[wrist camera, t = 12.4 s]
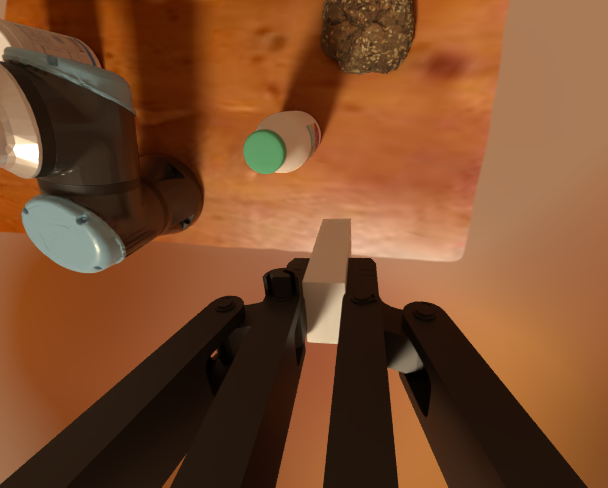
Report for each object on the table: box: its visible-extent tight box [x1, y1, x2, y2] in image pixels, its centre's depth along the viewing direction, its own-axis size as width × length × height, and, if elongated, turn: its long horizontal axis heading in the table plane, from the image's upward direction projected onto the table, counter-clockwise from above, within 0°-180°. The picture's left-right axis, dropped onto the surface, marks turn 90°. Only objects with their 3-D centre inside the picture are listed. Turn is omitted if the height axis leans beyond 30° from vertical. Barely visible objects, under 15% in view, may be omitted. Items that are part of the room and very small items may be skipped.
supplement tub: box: [0, 19, 101, 68], centre depth 45 cm, size 10×10×15 cm
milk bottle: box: [243, 111, 321, 174], centre depth 41 cm, size 8×8×20 cm
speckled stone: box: [321, 0, 414, 75], centre depth 40 cm, size 13×12×5 cm
